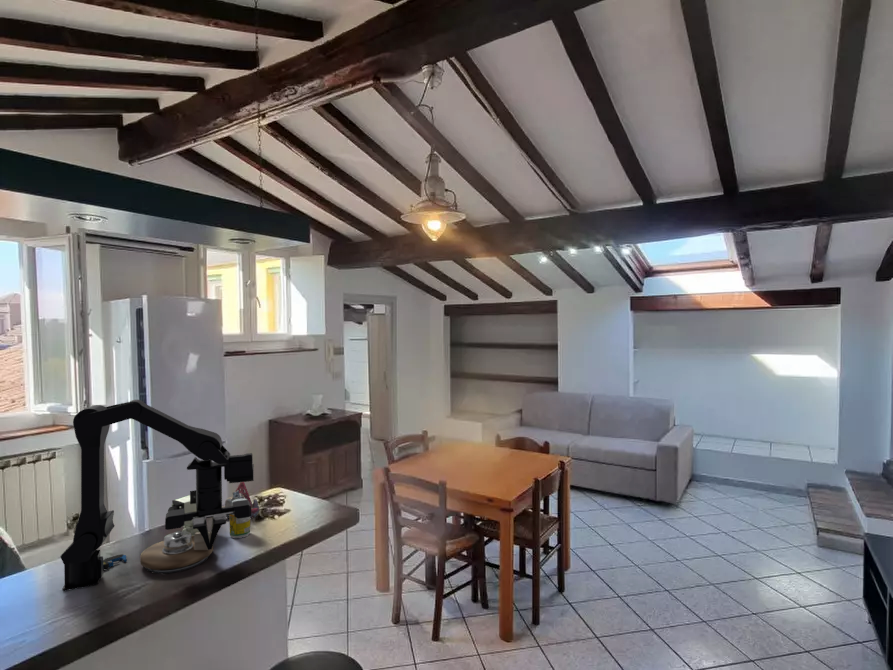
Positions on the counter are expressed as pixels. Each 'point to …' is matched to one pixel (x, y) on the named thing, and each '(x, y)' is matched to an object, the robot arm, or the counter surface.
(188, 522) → the pneumatic valve
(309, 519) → the counter surface
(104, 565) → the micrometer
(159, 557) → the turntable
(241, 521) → the supplement bottle
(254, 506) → the brake caliper
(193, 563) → the turntable base
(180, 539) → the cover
